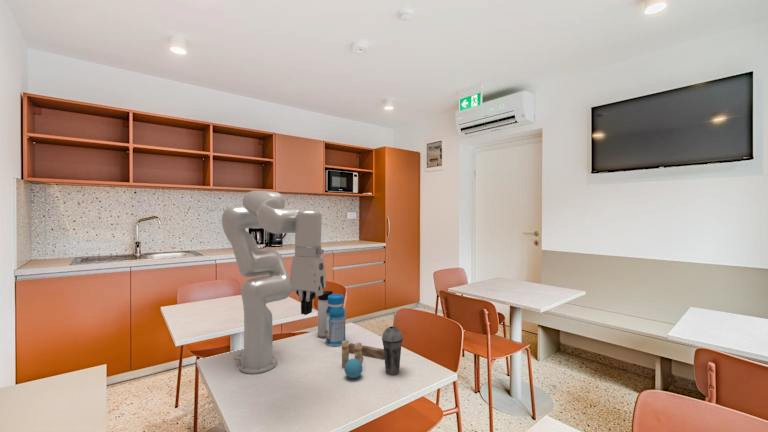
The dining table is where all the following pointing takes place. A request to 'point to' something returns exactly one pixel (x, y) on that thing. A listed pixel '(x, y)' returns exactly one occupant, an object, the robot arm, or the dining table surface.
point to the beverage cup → (392, 349)
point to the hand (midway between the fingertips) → (306, 313)
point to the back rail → (368, 351)
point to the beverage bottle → (335, 320)
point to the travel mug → (322, 313)
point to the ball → (353, 368)
